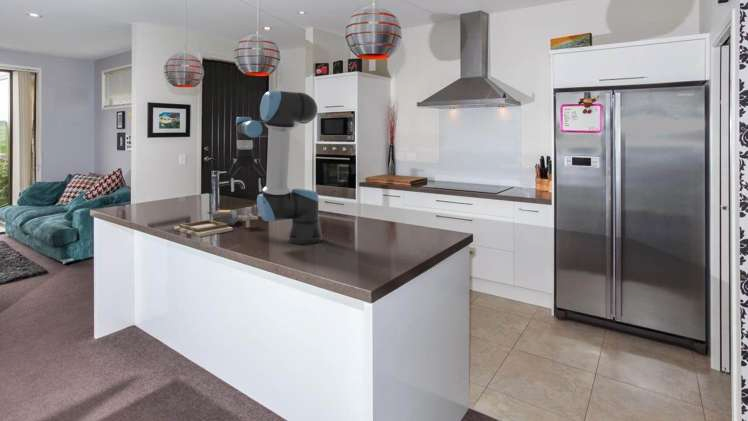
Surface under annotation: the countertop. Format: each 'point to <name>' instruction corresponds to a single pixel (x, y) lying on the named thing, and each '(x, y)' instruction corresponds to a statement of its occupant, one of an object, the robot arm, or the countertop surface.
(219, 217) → the button housing
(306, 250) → the countertop surface
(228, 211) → the button
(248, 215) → the pipe connector
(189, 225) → the pallet
